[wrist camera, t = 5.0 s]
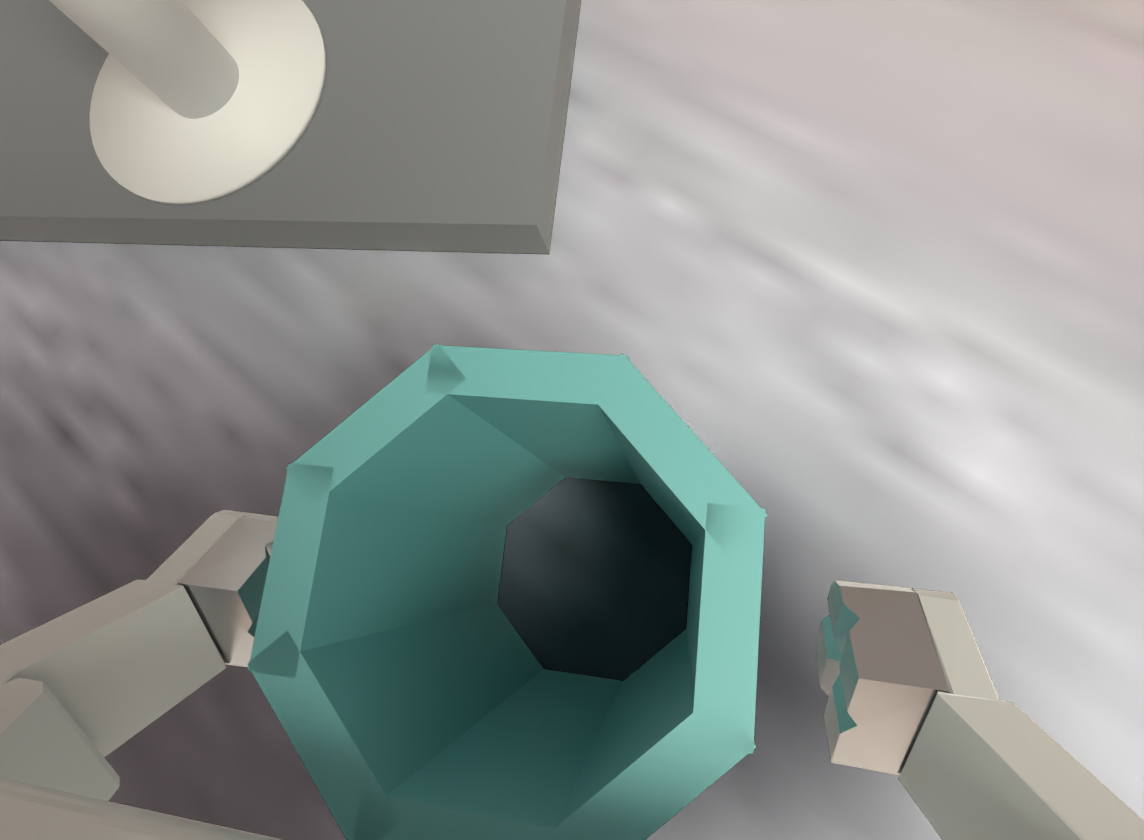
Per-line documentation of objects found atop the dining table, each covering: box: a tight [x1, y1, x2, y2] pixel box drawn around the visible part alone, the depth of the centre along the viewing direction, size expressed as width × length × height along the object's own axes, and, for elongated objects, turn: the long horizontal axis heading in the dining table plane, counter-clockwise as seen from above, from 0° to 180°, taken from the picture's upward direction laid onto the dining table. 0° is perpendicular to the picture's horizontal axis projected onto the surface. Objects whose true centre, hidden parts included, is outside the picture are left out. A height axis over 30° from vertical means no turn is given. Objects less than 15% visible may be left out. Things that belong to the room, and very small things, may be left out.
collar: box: [247, 343, 768, 840], centre depth 11 cm, size 6×6×8 cm
